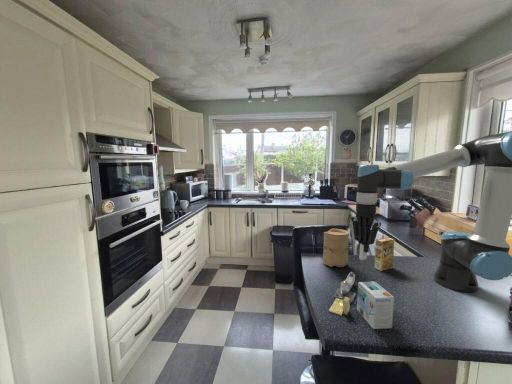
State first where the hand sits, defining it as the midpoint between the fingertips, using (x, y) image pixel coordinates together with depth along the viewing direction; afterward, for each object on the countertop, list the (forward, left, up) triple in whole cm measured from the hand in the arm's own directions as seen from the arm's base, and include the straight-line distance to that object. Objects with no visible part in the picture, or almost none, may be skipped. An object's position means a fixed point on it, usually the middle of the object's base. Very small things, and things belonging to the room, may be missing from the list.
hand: (362, 258), depth 95 cm
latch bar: (+5, +3, -13) cm, 14 cm away
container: (+17, -21, -14) cm, 30 cm away
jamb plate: (+5, +9, -14) cm, 17 cm away
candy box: (-5, -30, -14) cm, 34 cm away
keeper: (+5, +17, -14) cm, 23 cm away
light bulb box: (-7, +17, -14) cm, 23 cm away
